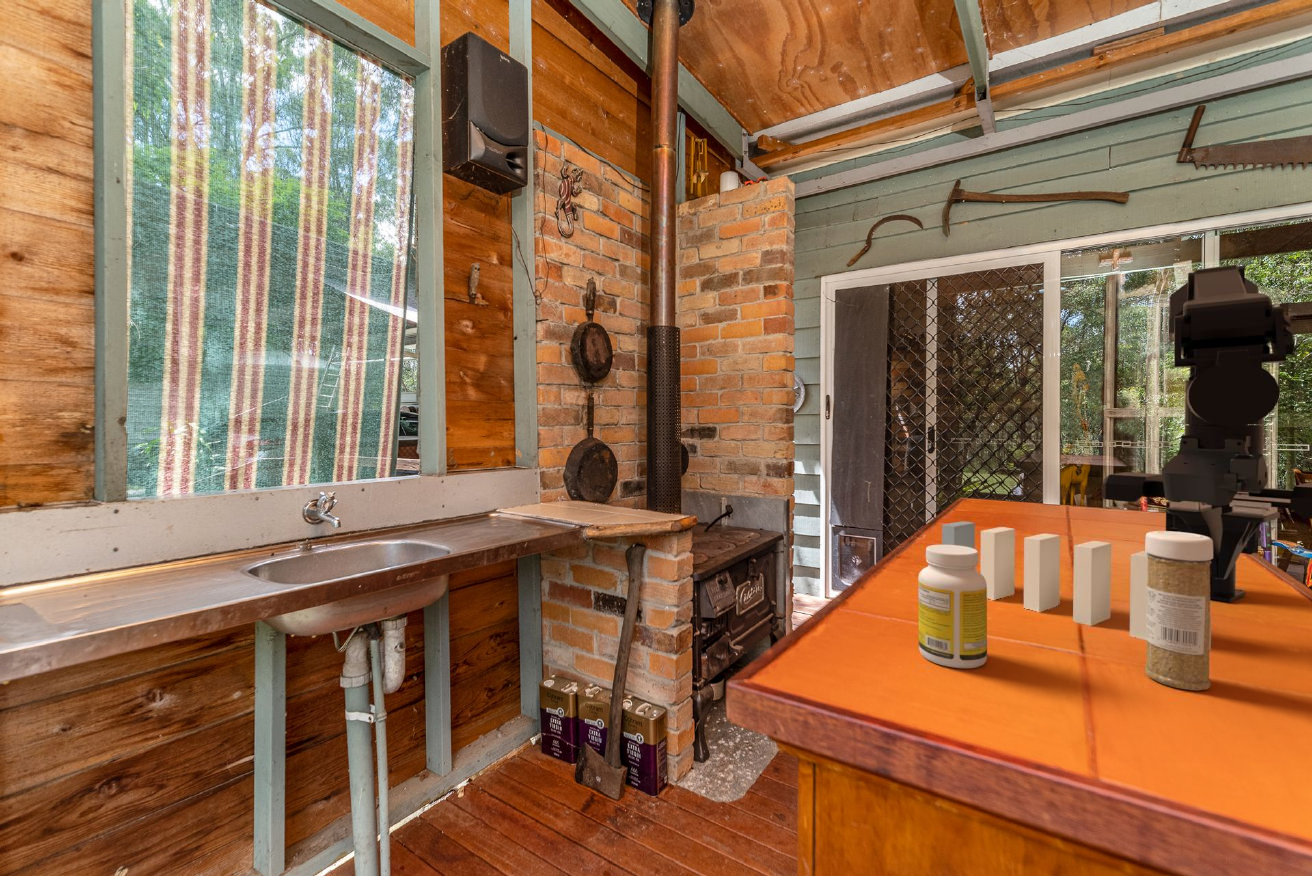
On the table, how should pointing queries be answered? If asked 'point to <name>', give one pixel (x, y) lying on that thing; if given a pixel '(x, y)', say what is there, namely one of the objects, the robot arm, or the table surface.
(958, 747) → the table surface
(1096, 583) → the domino
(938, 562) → the pill bottle
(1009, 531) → the domino
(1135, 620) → the domino
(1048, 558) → the domino
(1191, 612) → the spice jar
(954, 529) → the domino
